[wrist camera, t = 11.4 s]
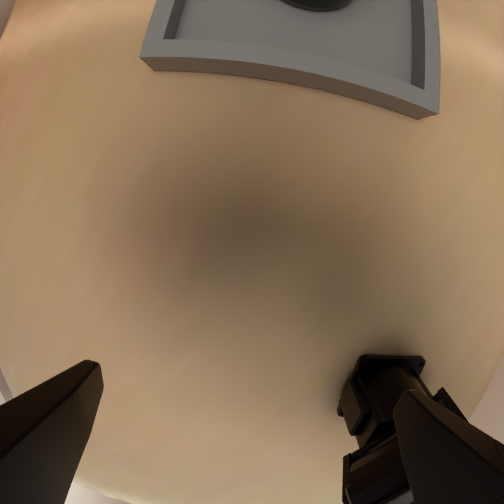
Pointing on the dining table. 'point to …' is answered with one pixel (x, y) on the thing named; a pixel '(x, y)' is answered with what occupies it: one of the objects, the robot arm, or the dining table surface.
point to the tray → (307, 46)
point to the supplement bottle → (320, 4)
